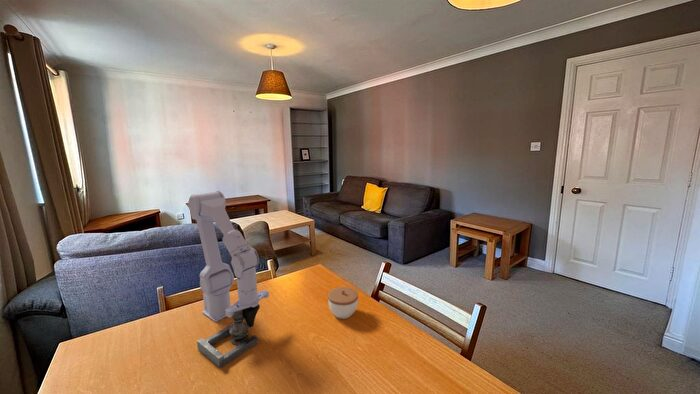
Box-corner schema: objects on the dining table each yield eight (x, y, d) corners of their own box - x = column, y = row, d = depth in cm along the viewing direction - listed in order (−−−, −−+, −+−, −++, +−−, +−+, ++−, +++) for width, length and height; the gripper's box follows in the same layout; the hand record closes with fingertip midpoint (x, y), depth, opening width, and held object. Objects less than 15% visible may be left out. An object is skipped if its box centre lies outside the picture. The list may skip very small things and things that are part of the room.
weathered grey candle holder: (243, 346, 86) (240, 311, 84) (226, 344, 88) (222, 308, 85) (253, 334, 92) (251, 300, 90) (237, 331, 93) (234, 298, 91)
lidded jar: (358, 306, 108) (359, 283, 106) (356, 324, 97) (357, 299, 95) (330, 304, 109) (330, 281, 107) (325, 322, 98) (325, 297, 97)
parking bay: (197, 349, 85) (196, 340, 85) (235, 327, 95) (235, 319, 95) (219, 368, 78) (218, 358, 78) (258, 342, 88) (257, 334, 88)
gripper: (233, 301, 82) (237, 343, 84) (274, 281, 93) (276, 319, 96) (220, 294, 86) (223, 334, 88) (260, 275, 97) (262, 311, 100)
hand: (250, 325), depth 92 cm, fingers closed
